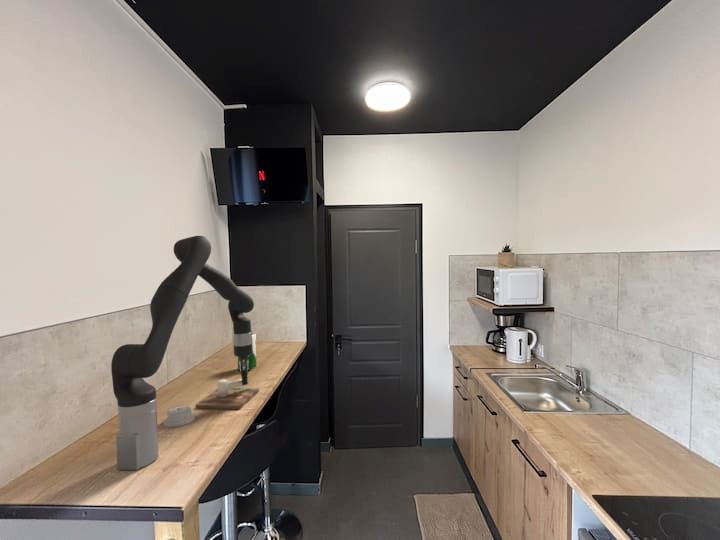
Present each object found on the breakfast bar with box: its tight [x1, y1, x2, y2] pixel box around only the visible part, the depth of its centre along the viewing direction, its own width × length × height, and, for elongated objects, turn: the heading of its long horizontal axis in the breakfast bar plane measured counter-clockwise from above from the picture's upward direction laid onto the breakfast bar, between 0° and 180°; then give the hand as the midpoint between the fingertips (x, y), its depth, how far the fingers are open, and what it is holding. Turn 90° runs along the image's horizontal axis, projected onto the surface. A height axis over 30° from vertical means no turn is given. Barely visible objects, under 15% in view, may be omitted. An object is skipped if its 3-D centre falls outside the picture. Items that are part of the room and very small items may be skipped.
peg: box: [216, 376, 250, 397], centre depth 143 cm, size 4×13×6 cm, turn 127°
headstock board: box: [195, 387, 260, 410], centre depth 141 cm, size 18×18×2 cm
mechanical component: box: [163, 405, 196, 428], centre depth 122 cm, size 10×4×10 cm
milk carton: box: [237, 330, 257, 371], centre depth 182 cm, size 9×9×20 cm
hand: (244, 384), depth 144 cm, fingers closed
